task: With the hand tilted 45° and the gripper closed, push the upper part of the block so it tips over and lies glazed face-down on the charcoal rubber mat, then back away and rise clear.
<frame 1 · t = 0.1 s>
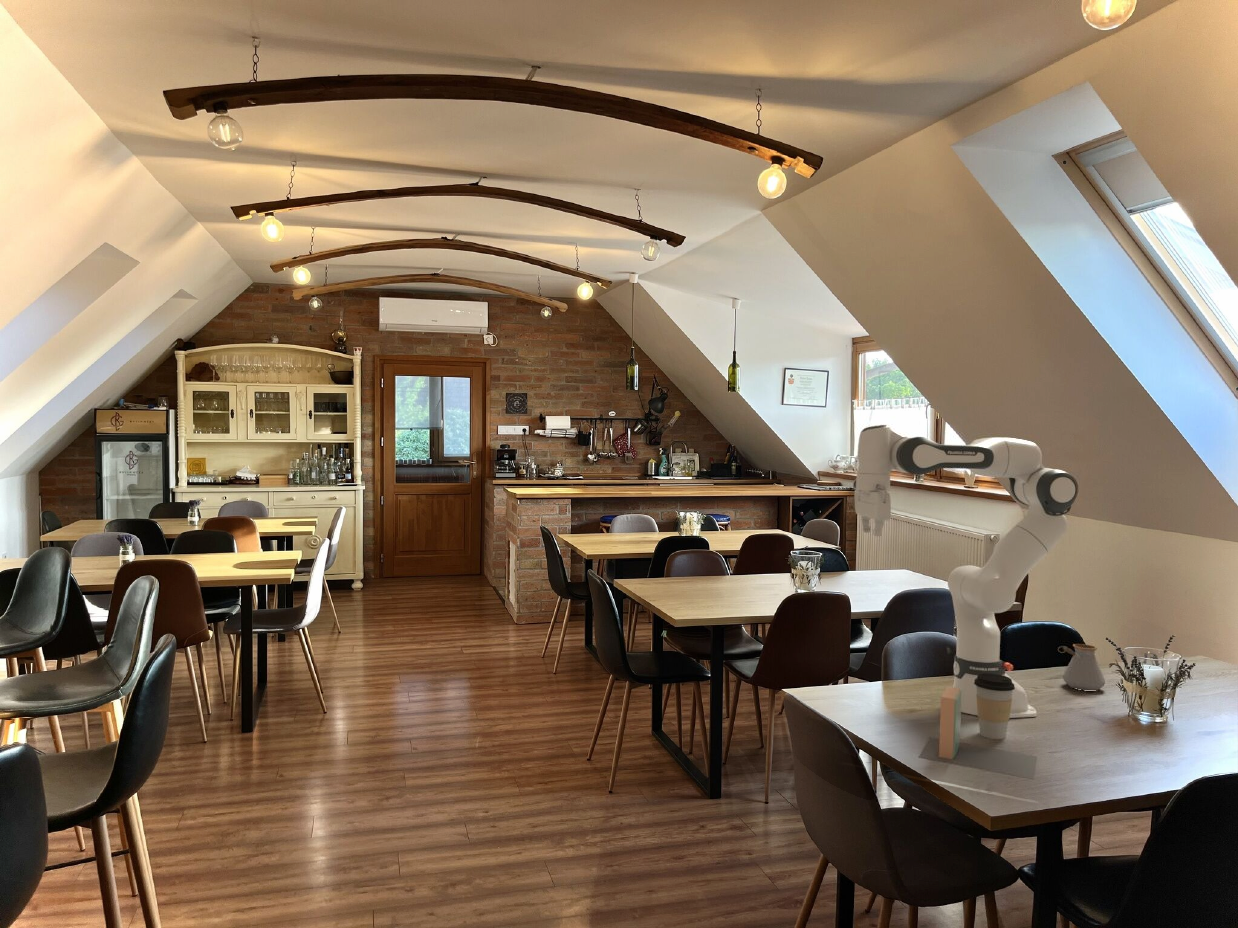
hand: (871, 534, 237), 48 cm above the table, tool pointing down, fingers open, 8 cm apart
coffee cup: (992, 737, 216), on the table
mat: (978, 758, 200), on the table
block: (948, 751, 203), resting on mat
coffee pot: (1076, 691, 259), on the table
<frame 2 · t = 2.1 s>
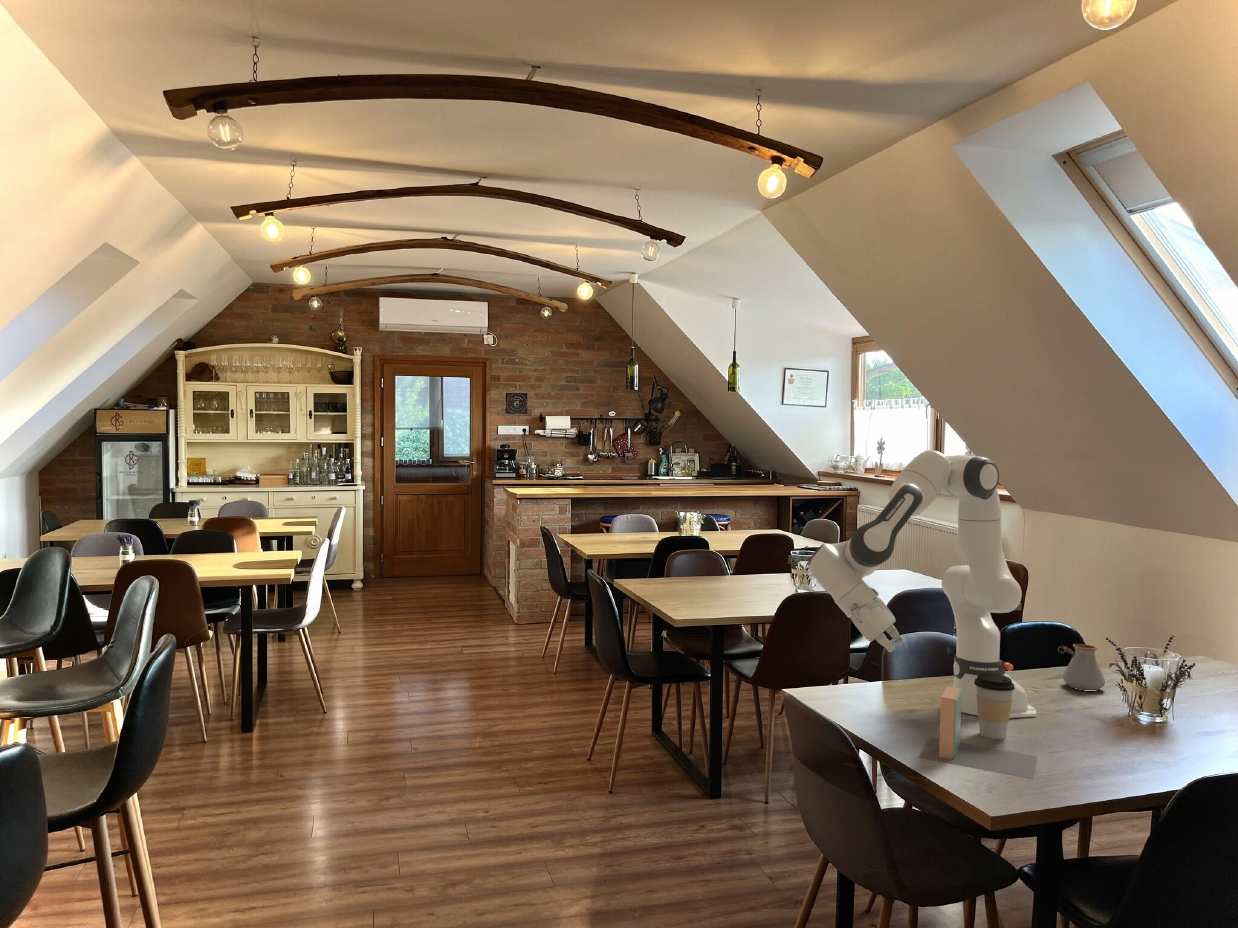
hand: (897, 646, 209), 24 cm above the table, tool tilted 45°, fingers open, 8 cm apart
nothing on the table moved.
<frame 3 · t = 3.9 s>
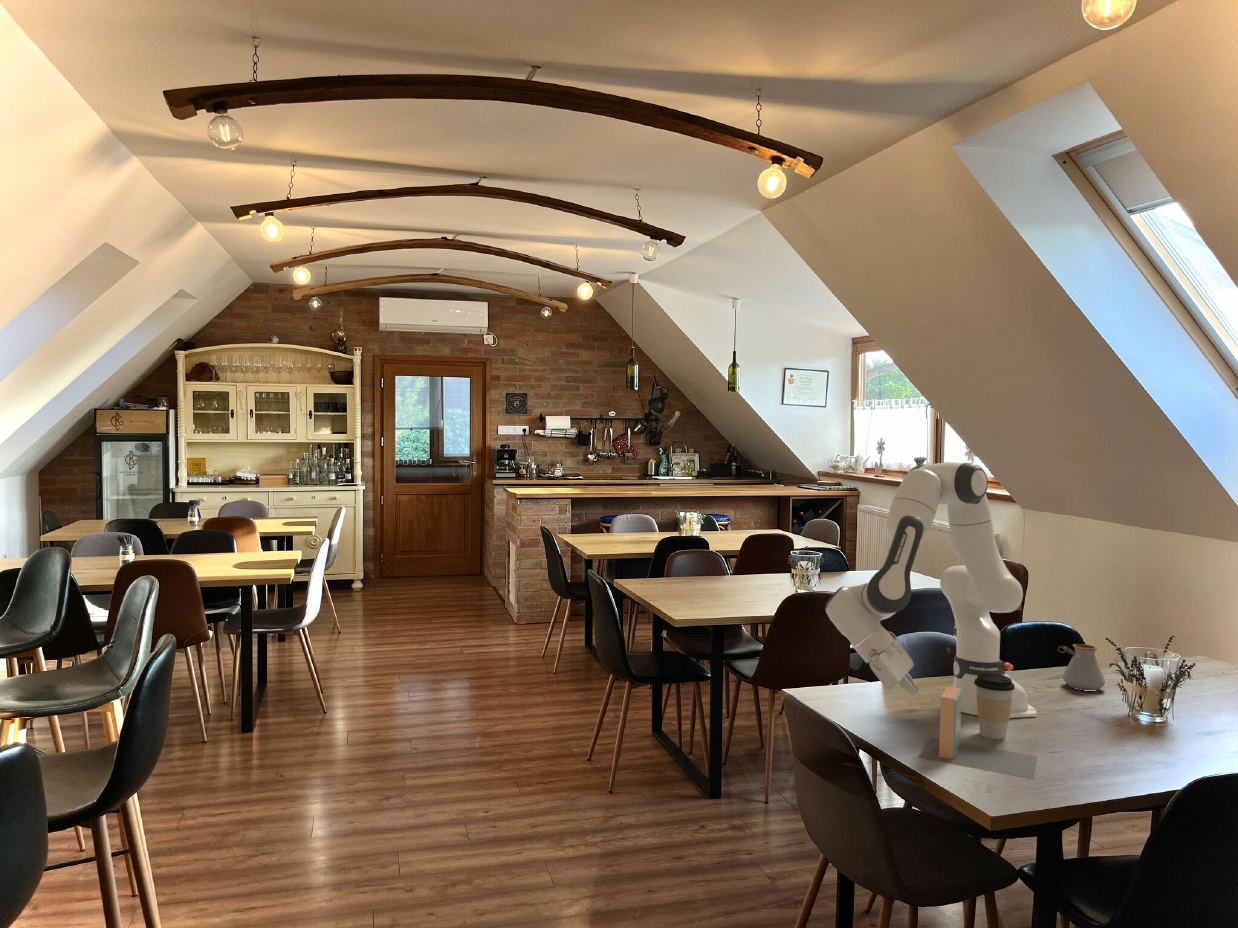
hand: (915, 692, 207), 13 cm above the table, tool tilted 45°, fingers closed
nothing on the table moved.
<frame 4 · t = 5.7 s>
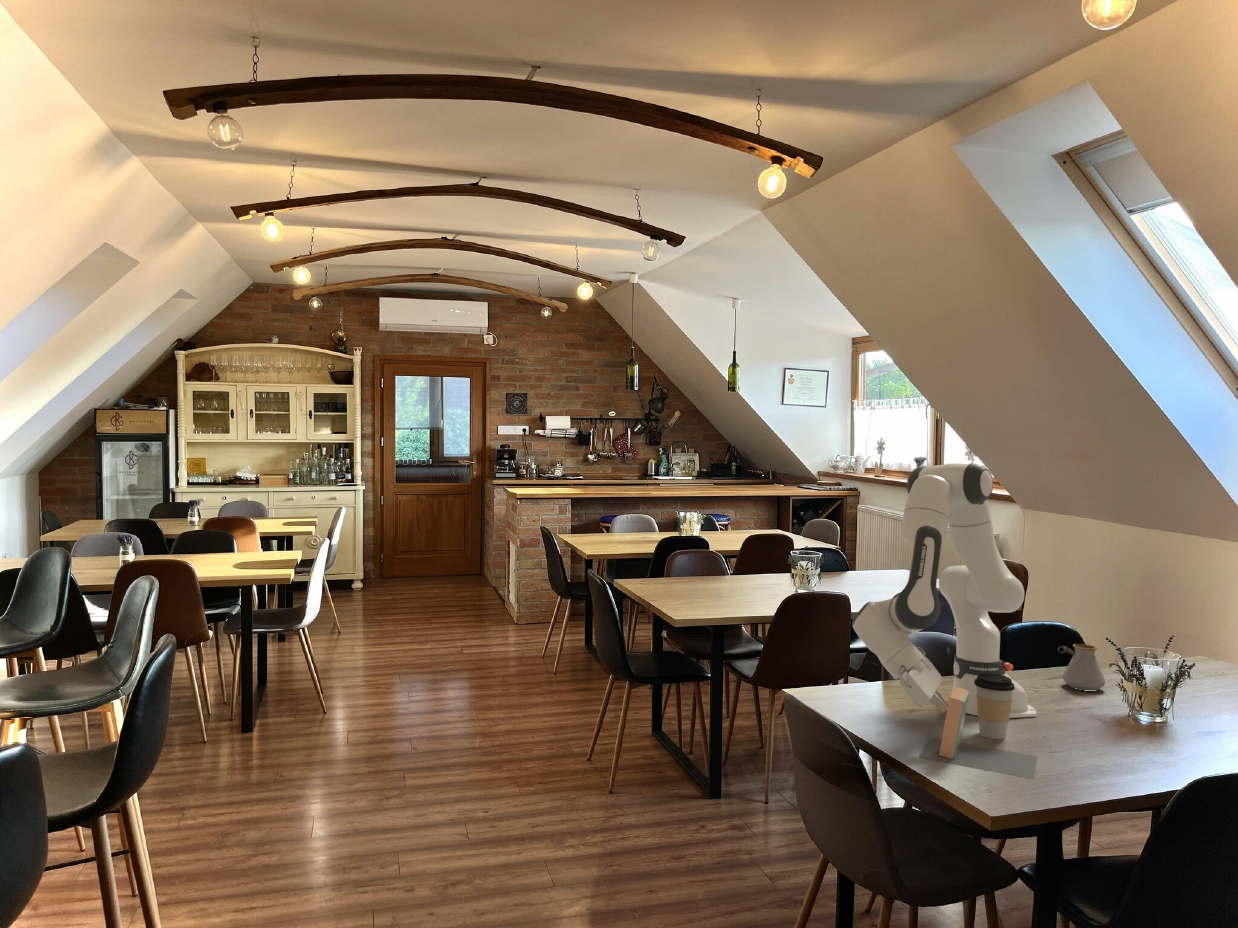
hand: (946, 709, 203), 10 cm above the table, tool tilted 45°, fingers closed
block: (948, 750, 203), point 1 cm above the table, tilted 7°, touching mat
everything else where it was.
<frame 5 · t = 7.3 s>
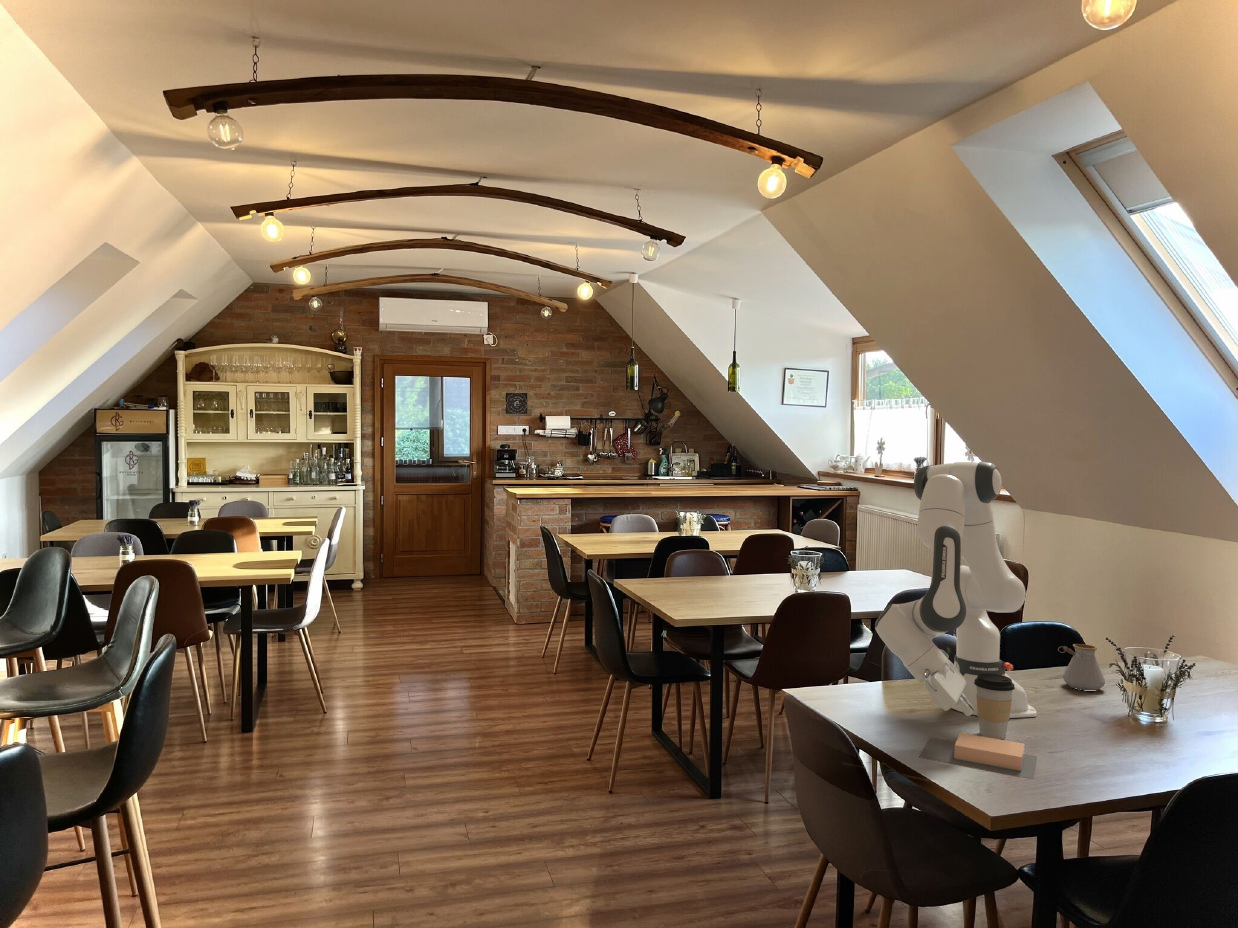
hand: (971, 713, 201), 10 cm above the table, tool tilted 45°, fingers closed
block: (957, 744, 202), point 2 cm above the table, tilted 90°, touching mat
everything else where it was.
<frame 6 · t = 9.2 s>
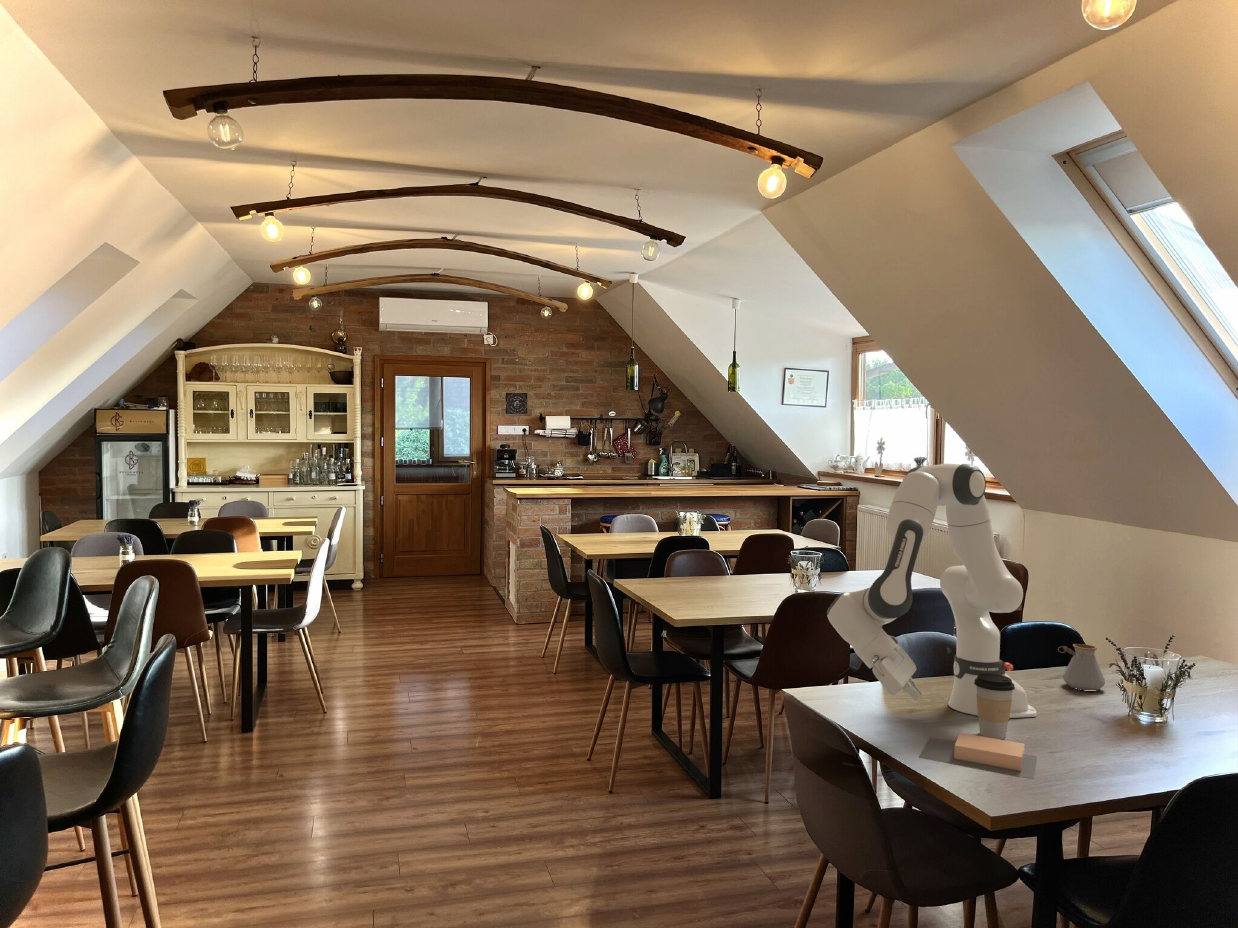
hand: (919, 697, 206), 12 cm above the table, tool tilted 45°, fingers closed
nothing on the table moved.
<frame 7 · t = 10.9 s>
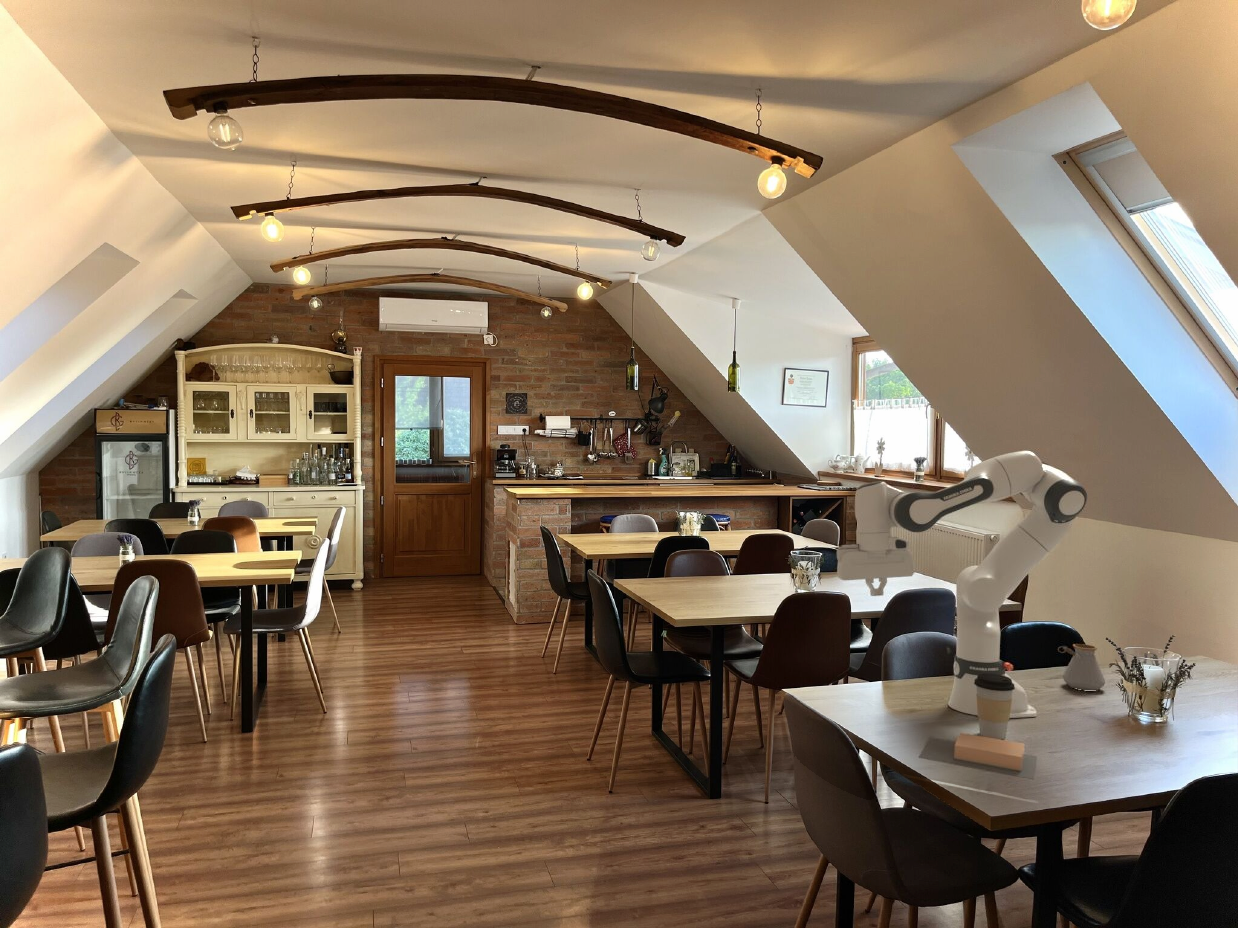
hand: (877, 595, 227), 33 cm above the table, tool pointing down, fingers closed
nothing on the table moved.
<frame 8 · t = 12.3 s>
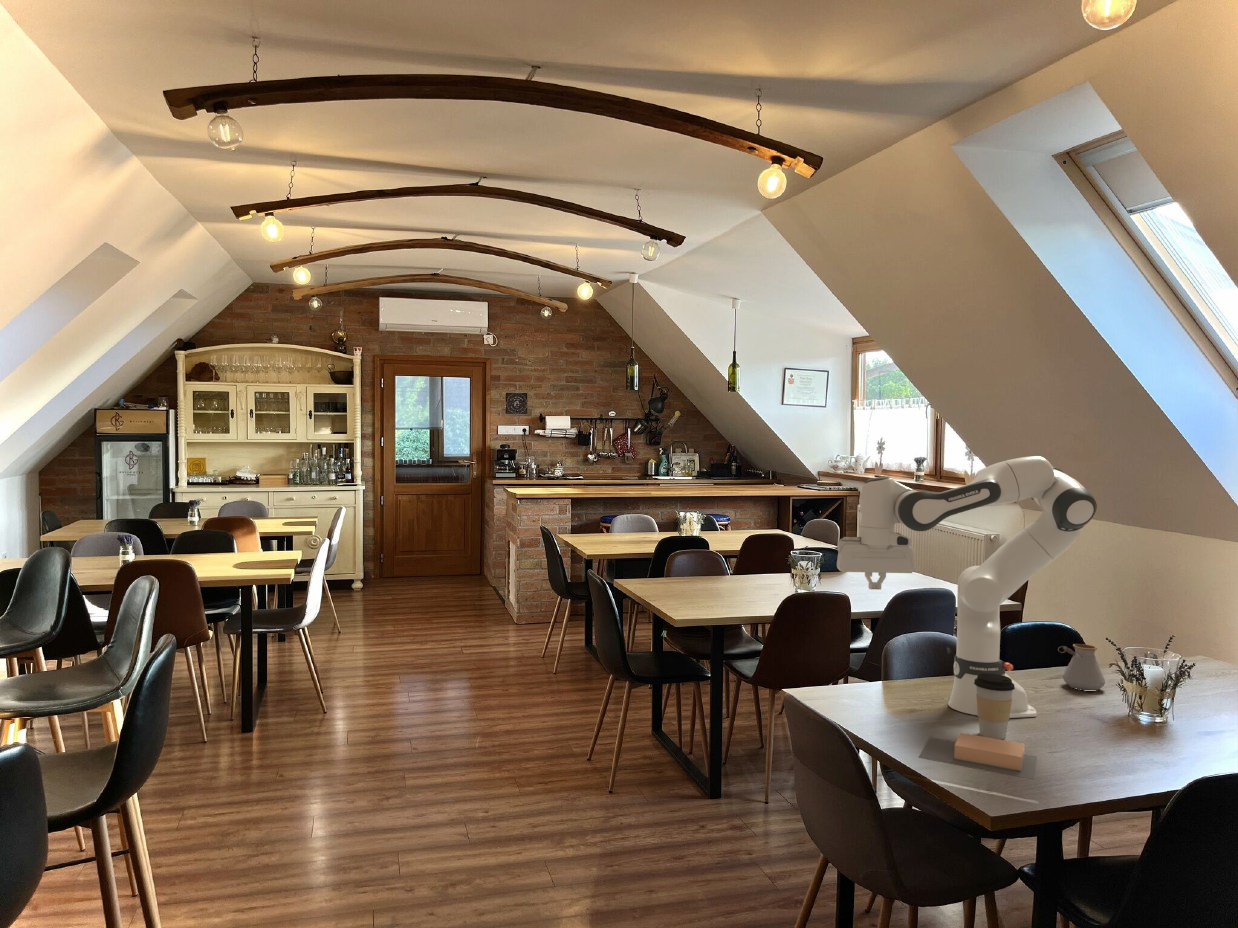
hand: (874, 589, 229), 34 cm above the table, tool pointing down, fingers closed
nothing on the table moved.
at the end: block tilted 90°; block inside the target area (0.4 cm from its centre), point 2.3 cm above the table; block touching mat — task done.
